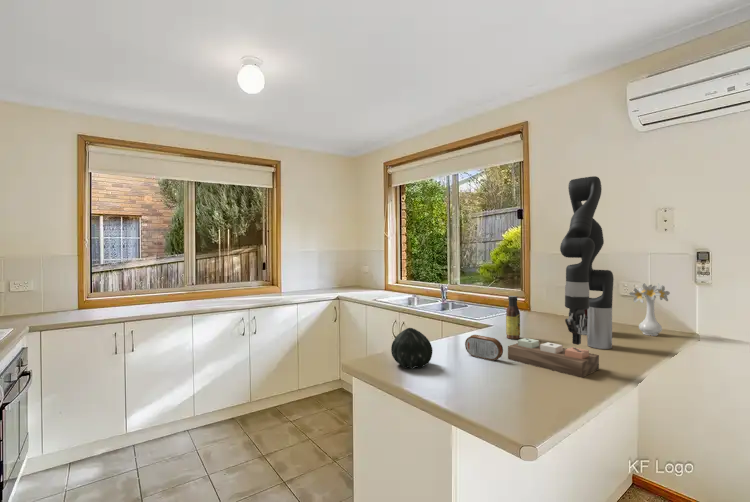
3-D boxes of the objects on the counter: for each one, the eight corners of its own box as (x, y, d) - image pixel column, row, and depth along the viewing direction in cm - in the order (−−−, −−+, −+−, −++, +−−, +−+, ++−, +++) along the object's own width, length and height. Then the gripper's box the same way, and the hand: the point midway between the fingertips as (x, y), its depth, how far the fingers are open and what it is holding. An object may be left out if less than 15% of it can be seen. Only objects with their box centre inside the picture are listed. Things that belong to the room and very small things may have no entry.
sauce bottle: (521, 340, 175) (521, 297, 175) (507, 339, 177) (507, 297, 176) (518, 336, 182) (518, 295, 182) (505, 336, 183) (505, 295, 183)
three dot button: (572, 356, 137) (572, 346, 137) (588, 360, 132) (588, 349, 132) (565, 359, 133) (565, 349, 133) (581, 363, 129) (581, 352, 129)
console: (526, 352, 155) (527, 340, 155) (598, 369, 134) (598, 355, 134) (507, 359, 146) (507, 346, 146) (581, 377, 125) (581, 362, 125)
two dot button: (525, 346, 151) (525, 337, 151) (539, 349, 146) (539, 340, 146) (517, 349, 147) (517, 339, 147) (531, 352, 143) (531, 342, 143)
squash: (423, 342, 149) (402, 316, 145) (446, 354, 136) (423, 325, 131) (399, 370, 145) (376, 344, 140) (420, 384, 132) (395, 356, 127)
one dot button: (547, 351, 144) (547, 341, 144) (562, 354, 139) (562, 344, 139) (540, 354, 140) (540, 344, 140) (555, 357, 136) (555, 347, 136)
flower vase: (625, 334, 187) (625, 283, 187) (646, 330, 195) (646, 281, 195) (655, 339, 175) (655, 286, 175) (675, 335, 184) (676, 284, 184)
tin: (503, 361, 144) (503, 339, 143) (499, 363, 141) (499, 340, 141) (467, 353, 154) (467, 332, 154) (463, 355, 151) (463, 334, 151)
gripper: (574, 292, 140) (573, 339, 140) (557, 294, 131) (556, 344, 131) (596, 294, 134) (595, 343, 134) (579, 297, 125) (579, 349, 126)
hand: (576, 343), depth 133 cm, fingers closed
